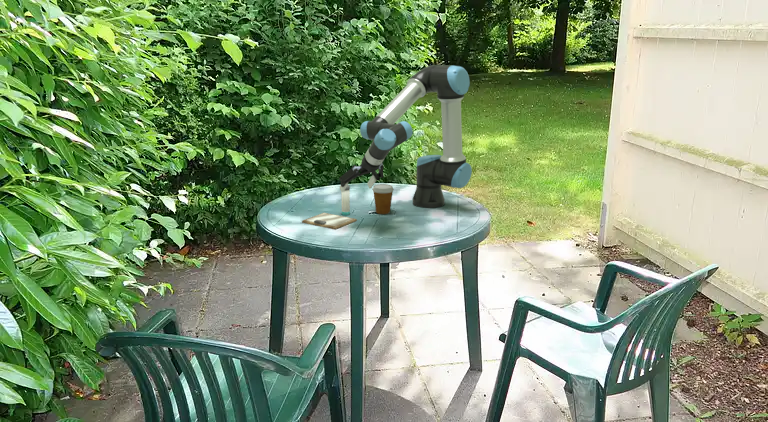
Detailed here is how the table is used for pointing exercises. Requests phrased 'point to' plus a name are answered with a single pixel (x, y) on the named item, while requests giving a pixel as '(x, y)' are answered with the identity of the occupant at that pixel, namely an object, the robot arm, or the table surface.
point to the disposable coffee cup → (383, 198)
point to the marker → (346, 201)
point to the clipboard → (329, 221)
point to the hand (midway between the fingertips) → (355, 187)
